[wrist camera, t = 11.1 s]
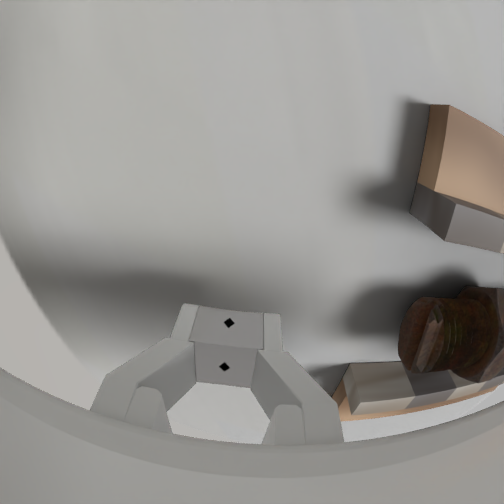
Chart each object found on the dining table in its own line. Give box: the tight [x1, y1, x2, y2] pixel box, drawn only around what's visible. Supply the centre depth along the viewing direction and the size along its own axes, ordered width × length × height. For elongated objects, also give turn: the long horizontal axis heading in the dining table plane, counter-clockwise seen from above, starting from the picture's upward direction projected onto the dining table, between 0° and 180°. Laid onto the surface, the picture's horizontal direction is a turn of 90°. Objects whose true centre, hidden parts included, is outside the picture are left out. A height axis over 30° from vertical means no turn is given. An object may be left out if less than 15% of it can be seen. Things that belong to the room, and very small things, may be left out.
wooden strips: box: [331, 104, 504, 421], centre depth 10 cm, size 16×16×2 cm
